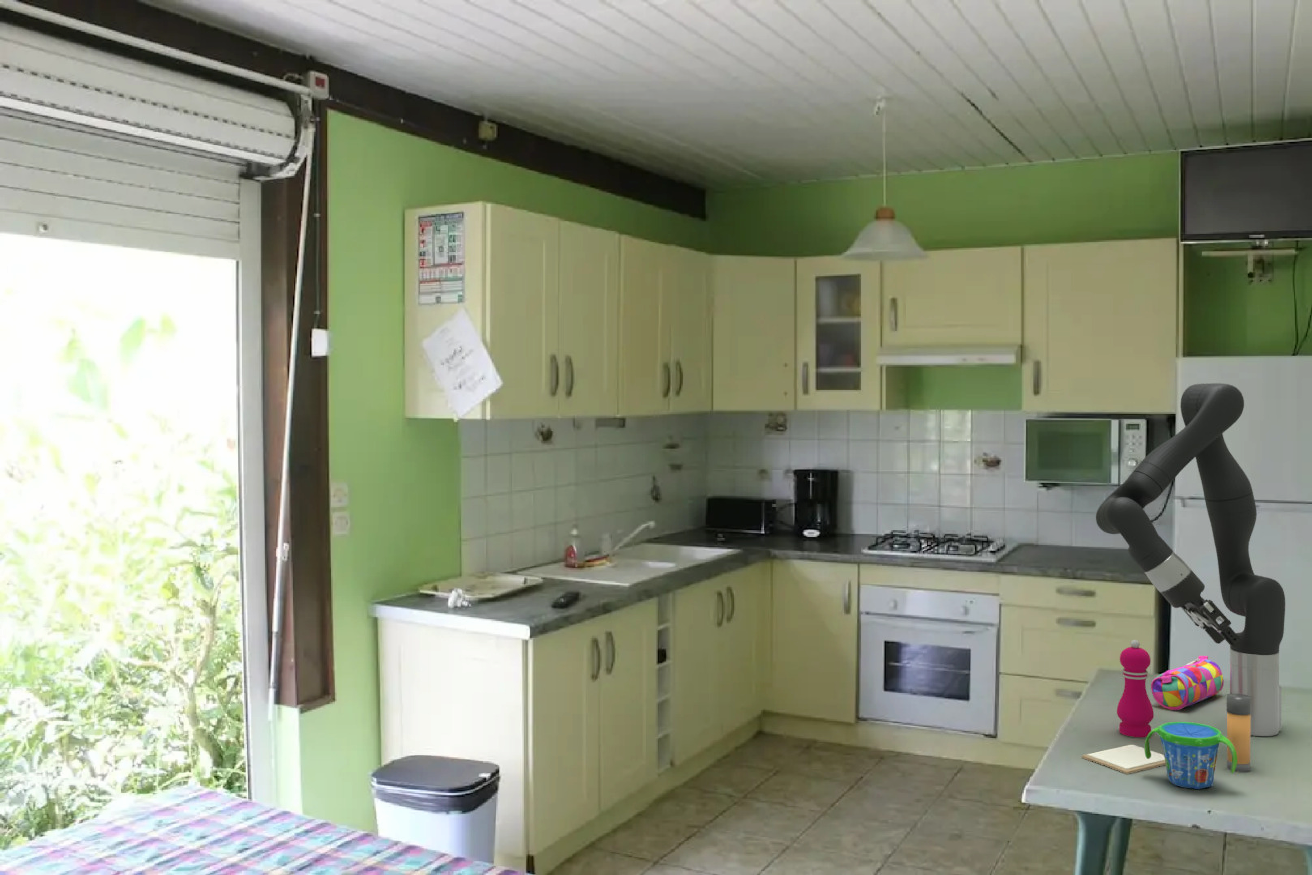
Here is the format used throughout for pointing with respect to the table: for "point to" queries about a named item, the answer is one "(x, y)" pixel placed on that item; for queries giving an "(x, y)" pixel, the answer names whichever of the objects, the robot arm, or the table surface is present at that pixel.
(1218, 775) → the table surface
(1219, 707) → the table surface
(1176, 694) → the pencil case
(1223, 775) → the table surface
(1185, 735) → the snack cup
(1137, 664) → the pepper mill
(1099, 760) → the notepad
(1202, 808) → the table surface
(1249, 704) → the orange grey cylinder
